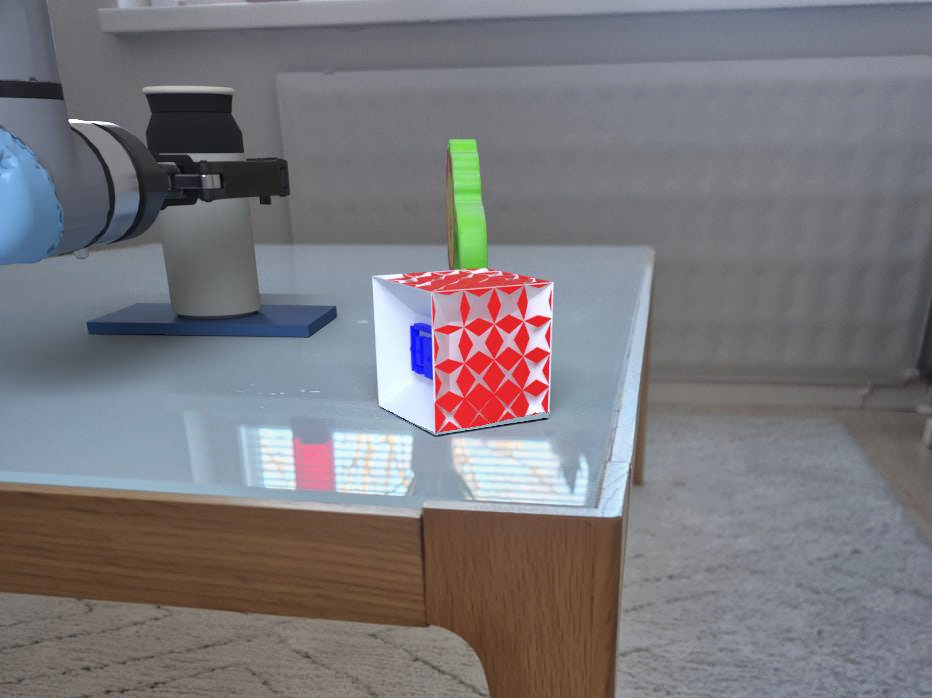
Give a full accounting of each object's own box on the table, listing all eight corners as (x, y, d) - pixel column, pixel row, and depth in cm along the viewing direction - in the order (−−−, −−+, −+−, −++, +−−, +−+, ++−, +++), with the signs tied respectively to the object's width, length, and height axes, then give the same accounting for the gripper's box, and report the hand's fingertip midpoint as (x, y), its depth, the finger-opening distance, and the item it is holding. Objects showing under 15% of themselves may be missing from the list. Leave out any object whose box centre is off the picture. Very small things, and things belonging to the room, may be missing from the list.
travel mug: (251, 320, 83) (225, 85, 75) (161, 320, 83) (125, 85, 75) (268, 306, 90) (246, 90, 82) (186, 306, 90) (155, 90, 82)
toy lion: (509, 364, 72) (513, 138, 65) (438, 365, 71) (434, 138, 64) (488, 327, 86) (489, 139, 79) (429, 328, 85) (424, 139, 78)
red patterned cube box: (549, 418, 58) (553, 281, 54) (435, 436, 54) (431, 291, 50) (484, 392, 64) (484, 267, 60) (378, 406, 60) (371, 275, 57)
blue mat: (88, 333, 83) (85, 321, 83) (138, 313, 93) (136, 303, 93) (309, 337, 82) (308, 325, 81) (337, 316, 91) (336, 305, 91)
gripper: (-74, 243, 66) (69, 221, 84) (276, 246, 64) (342, 222, 83) (-105, 121, 62) (51, 125, 81) (264, 120, 60) (336, 125, 79)
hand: (198, 174), depth 82 cm, fingers open, 13 cm apart
